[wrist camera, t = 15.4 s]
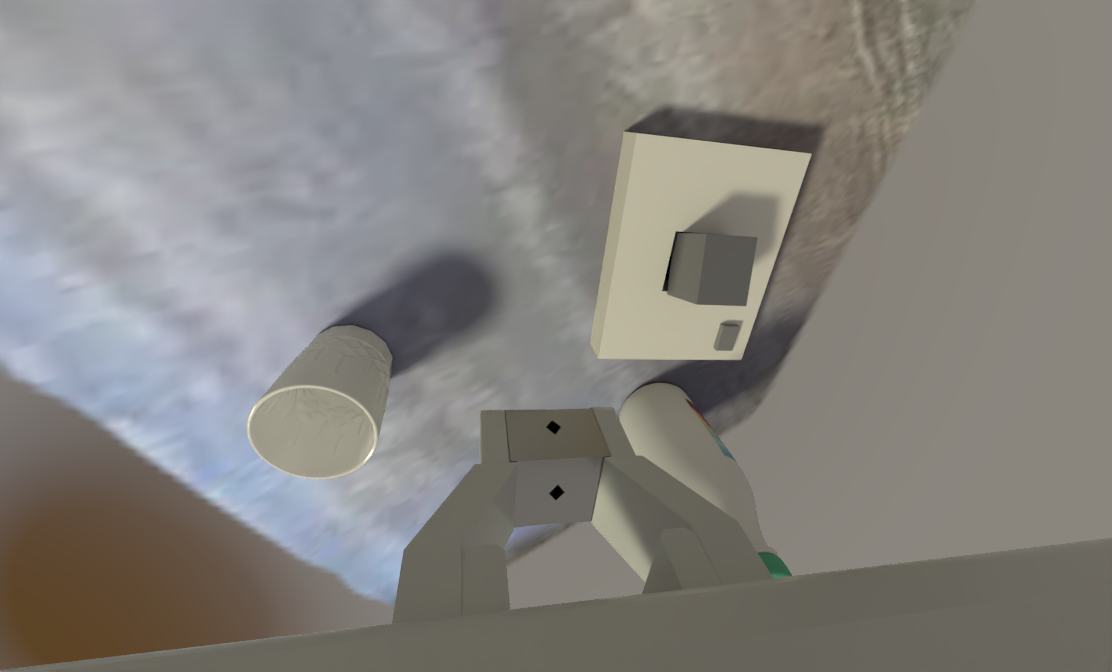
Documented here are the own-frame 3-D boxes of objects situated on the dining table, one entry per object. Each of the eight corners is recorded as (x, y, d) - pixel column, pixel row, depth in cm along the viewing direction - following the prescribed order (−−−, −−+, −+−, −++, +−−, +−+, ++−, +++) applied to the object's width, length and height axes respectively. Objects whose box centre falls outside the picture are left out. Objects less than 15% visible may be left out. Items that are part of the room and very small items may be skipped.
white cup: (411, 335, 37) (392, 404, 28) (385, 406, 40) (360, 489, 31) (313, 304, 34) (258, 369, 26) (292, 382, 37) (236, 465, 28)
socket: (623, 131, 32) (640, 133, 29) (786, 150, 35) (817, 154, 32) (590, 342, 40) (599, 362, 37) (725, 345, 43) (744, 363, 40)
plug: (663, 232, 37) (706, 233, 30) (705, 235, 38) (757, 237, 31) (656, 290, 38) (696, 304, 31) (697, 292, 39) (746, 306, 32)
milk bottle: (610, 438, 46) (692, 637, 29) (626, 378, 43) (731, 560, 25) (675, 440, 48) (791, 627, 31) (696, 381, 45) (839, 555, 27)
